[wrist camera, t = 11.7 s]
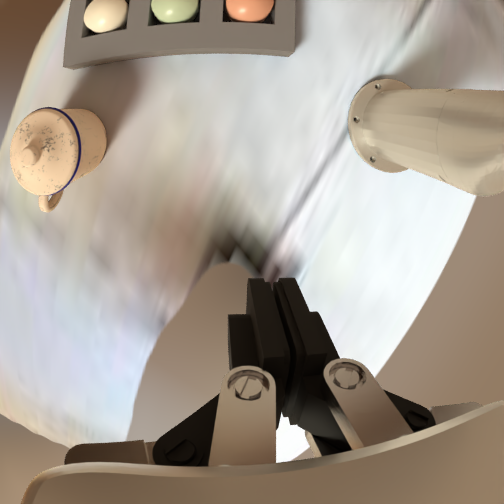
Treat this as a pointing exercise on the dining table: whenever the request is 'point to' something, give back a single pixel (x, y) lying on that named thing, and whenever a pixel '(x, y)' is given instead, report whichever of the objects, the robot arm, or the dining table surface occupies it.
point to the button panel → (177, 35)
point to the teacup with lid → (56, 151)
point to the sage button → (175, 10)
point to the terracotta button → (248, 10)
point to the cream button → (106, 15)
